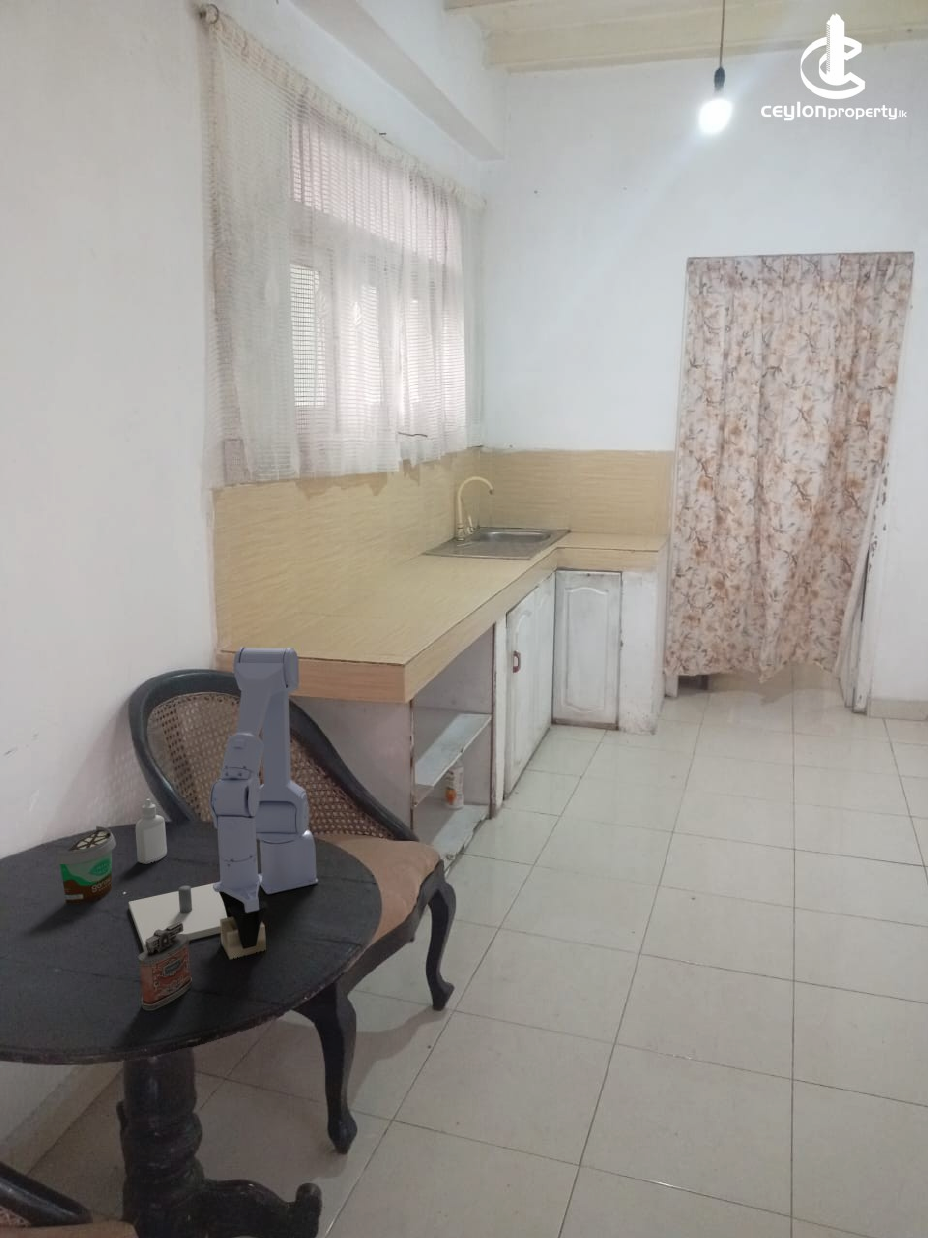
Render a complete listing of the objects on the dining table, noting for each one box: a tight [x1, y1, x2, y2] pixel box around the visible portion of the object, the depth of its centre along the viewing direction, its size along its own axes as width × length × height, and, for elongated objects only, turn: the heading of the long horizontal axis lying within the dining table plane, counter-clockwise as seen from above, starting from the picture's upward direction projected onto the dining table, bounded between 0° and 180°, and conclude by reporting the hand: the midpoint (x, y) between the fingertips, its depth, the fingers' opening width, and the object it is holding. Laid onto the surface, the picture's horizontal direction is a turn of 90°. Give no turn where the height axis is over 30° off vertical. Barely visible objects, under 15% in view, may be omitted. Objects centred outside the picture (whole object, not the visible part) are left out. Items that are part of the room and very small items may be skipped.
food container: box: [56, 825, 117, 905], centre depth 163 cm, size 12×6×10 cm, turn 168°
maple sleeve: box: [220, 916, 267, 960], centre depth 145 cm, size 6×6×4 cm
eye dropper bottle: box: [135, 798, 168, 865], centre depth 177 cm, size 4×6×12 cm
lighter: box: [137, 922, 193, 1011], centre depth 132 cm, size 8×3×10 cm, turn 148°
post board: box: [128, 882, 227, 952], centre depth 154 cm, size 16×16×5 cm
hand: (242, 935), depth 145 cm, fingers open, 7 cm apart
